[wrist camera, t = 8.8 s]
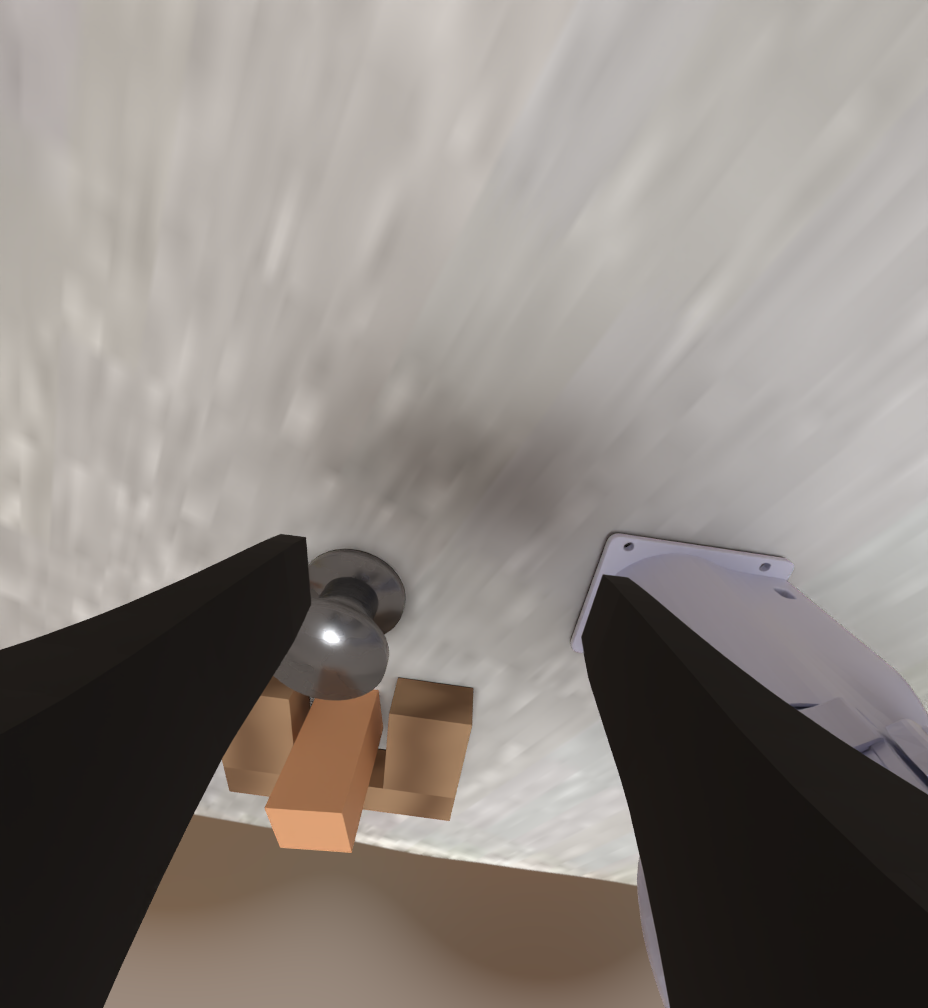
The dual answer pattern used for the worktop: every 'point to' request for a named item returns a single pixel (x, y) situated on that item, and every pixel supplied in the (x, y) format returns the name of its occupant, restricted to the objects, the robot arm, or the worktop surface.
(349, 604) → the doorknob
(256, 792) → the notched board
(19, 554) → the worktop surface
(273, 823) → the brown block
